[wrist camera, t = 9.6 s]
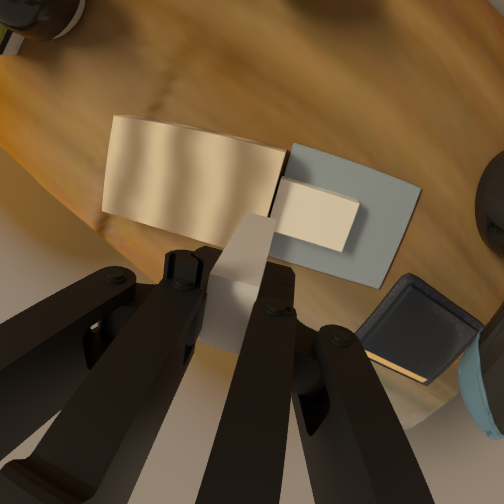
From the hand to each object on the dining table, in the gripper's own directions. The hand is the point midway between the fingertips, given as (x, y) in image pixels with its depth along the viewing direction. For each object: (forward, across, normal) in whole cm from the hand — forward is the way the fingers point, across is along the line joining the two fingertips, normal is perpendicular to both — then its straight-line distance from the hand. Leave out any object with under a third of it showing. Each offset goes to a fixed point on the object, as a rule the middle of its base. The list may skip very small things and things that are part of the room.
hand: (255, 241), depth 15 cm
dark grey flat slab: (+23, +26, -17) cm, 39 cm away
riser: (+22, -10, -3) cm, 24 cm away
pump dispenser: (+22, -36, +19) cm, 46 cm away
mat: (+22, +8, -3) cm, 23 cm away
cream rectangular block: (+21, +4, -3) cm, 22 cm away
